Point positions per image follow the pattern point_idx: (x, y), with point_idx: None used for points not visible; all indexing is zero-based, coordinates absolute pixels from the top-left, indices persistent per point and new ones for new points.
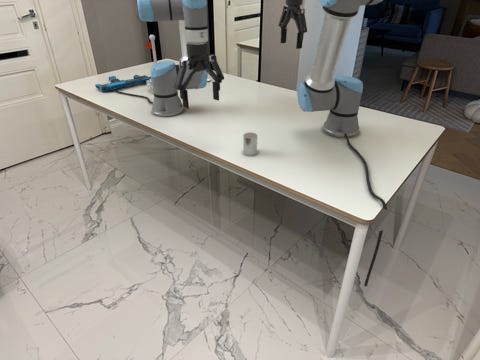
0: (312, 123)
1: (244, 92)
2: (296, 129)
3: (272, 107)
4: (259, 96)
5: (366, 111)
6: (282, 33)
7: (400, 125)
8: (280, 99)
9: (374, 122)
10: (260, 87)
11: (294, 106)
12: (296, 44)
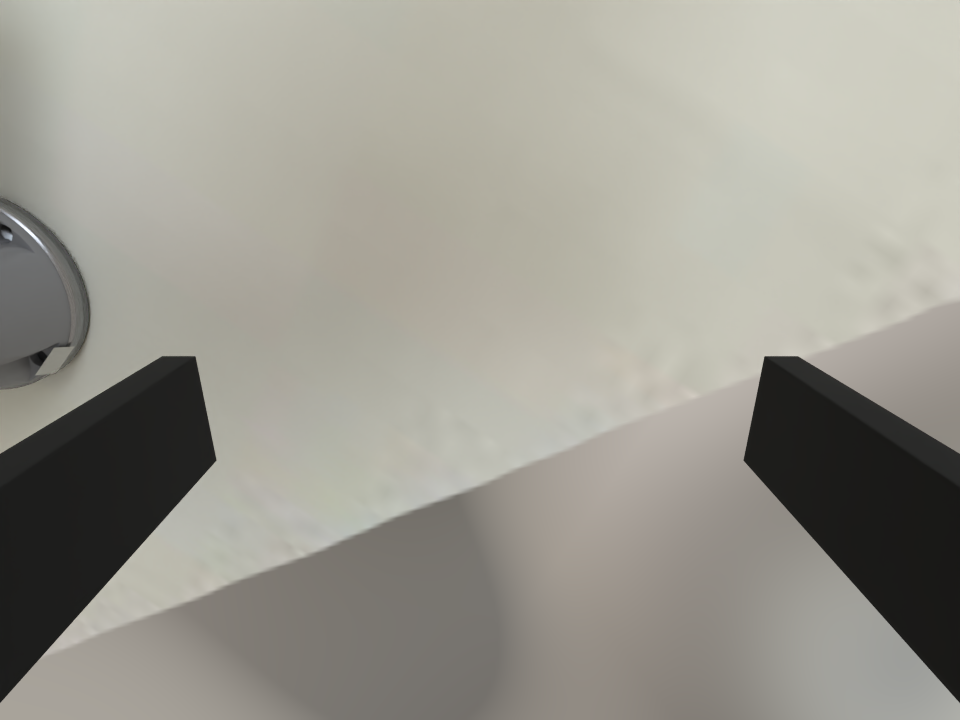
0: (124, 205)
1: (869, 74)
2: (55, 44)
3: (470, 112)
4: (717, 144)
5: (206, 562)
6: (913, 480)
7: None
8: (579, 255)
9: None
10: (876, 259)
11: (421, 268)
12: (147, 387)
